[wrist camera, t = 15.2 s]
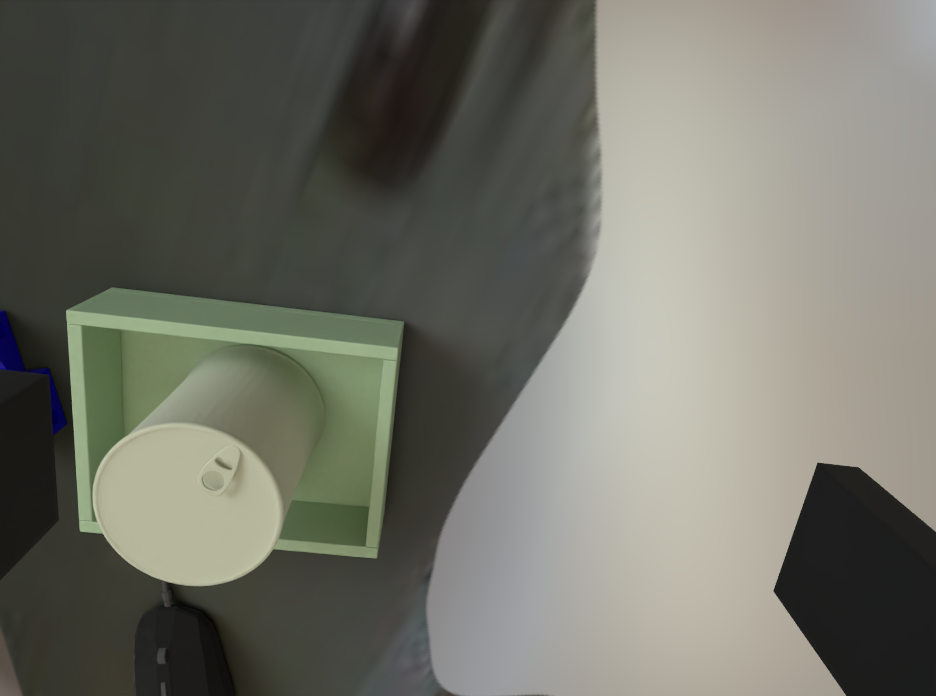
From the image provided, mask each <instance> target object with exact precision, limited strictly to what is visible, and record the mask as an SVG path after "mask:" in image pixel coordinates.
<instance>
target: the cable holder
mask: <svg viewBox="0 0 936 696" xmlns="http://www.w3.org/2000/svg"><path fill="white" fill-rule="evenodd" d="M0 369H4V370H12V371H21V372H30V373H38V374H47V375H49V379H50V394H51V410H52V425H53V435H54V434H55V433H57V432H58V431H59V430H60V429H62V428H63V427H64V426H66V425H67V422H66V419H65V416H64V413H63V410H62V407H61V404H60V401H59V398H58V395H57V392H56V389H55V386H54V383H53V380H52V377H51V374H50V371H49V368H41V369H32V370H25V368H24V365H23V362H22V359H21V356H20V353H19V350H18V348H17V345H16V342H15V339H14V336H13V333H12V330H11V327H10V324H9V321H8V318H7V316H6V313H5V310H4V311H0Z"/></svg>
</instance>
